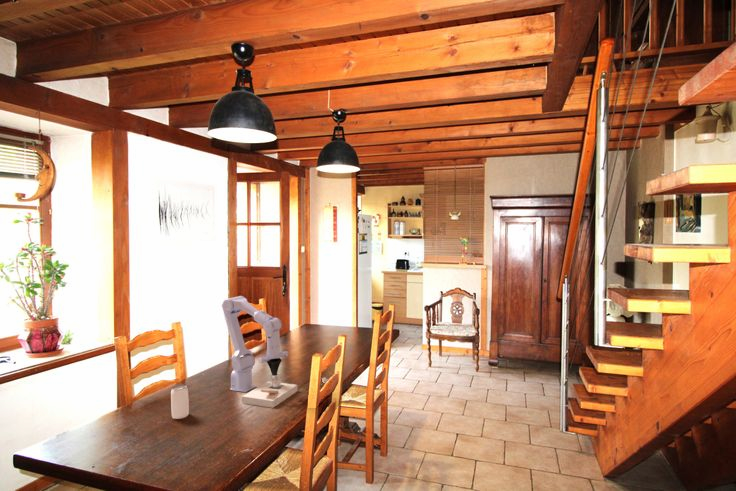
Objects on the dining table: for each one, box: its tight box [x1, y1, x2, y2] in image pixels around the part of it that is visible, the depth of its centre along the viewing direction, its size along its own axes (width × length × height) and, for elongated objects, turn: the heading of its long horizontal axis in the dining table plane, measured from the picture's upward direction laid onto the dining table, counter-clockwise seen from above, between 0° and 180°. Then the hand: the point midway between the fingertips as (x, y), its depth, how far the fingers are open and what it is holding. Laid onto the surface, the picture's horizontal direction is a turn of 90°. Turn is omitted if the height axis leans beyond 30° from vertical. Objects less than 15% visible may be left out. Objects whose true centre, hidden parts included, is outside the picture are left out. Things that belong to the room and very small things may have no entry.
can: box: [170, 384, 190, 420], centre depth 177 cm, size 6×6×12 cm
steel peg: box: [270, 373, 282, 389], centre depth 200 cm, size 5×5×8 cm
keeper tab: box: [261, 390, 278, 393], centre depth 190 cm, size 4×8×1 cm, turn 159°
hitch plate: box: [241, 380, 298, 409], centre depth 196 cm, size 16×20×3 cm
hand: (274, 374), depth 197 cm, fingers closed
